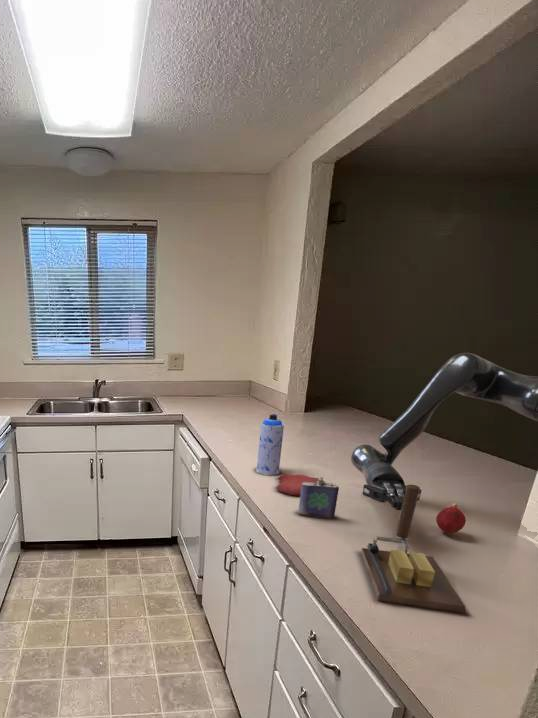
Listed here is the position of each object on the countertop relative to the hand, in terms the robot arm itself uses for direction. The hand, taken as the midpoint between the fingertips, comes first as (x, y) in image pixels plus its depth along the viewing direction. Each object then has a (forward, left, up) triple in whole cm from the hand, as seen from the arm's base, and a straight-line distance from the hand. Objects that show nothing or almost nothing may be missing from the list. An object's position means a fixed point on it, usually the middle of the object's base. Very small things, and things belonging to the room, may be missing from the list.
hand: (400, 506), depth 96 cm
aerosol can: (+28, -48, -11) cm, 57 cm away
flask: (+15, -15, -11) cm, 24 cm away
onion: (-15, -12, -11) cm, 22 cm away
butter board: (0, +13, -11) cm, 17 cm away
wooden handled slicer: (+3, +6, -9) cm, 11 cm away
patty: (+18, -35, -11) cm, 41 cm away
